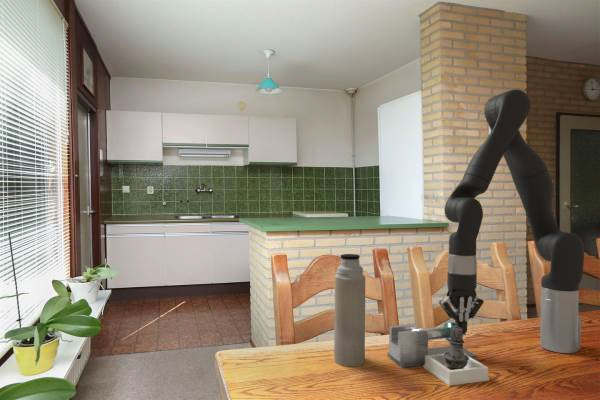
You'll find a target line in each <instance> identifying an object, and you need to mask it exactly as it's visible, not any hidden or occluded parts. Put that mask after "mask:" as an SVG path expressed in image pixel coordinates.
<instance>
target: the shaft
mask: <svg viewBox="0 0 600 400" xmlns="http://www.w3.org/2000/svg"><path fill="white" fill-rule="evenodd" d="M455 325H456V324H455V322H453V321H451V322H445V323H444V324H443V326H438V327H437V326H436V327H427V328H419V329H414V330H423V329H426V330H428V341H433V340H442V339H445V341H447V342H449V339H450V329H451V327H453V326H455ZM410 331H413V330H410Z"/></svg>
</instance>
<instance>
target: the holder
mask: <svg viewBox="0 0 600 400" xmlns="http://www.w3.org/2000/svg"><path fill="white" fill-rule="evenodd" d="M465 355H466V354H465ZM468 357H469V356H468ZM448 366H449V365H448V364H447V363H446V361H445V357H444V354H436V355H427V356H425V365H423V368H424V369H425V370H427V372H429V373H431V375H434V377H436V378H438V379H439V380H440V381H442V382H443V383H445V385H447V386H449V387H451V386H458V385H463V384H471V383H472V384H473V383H480V382H481V383H482V382H486V381H487V382H488V381H491V380H490V379H491V378H490V377H489V367H488V366H486V365H484V364H483V363H481V362H479V361H478V360H477V359H473V358H471V357H469V360H468V363H467V365H466V366H465V367H464V369H456V370H450V369H448V368H447V367H448Z"/></svg>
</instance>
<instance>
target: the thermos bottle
mask: <svg viewBox="0 0 600 400" xmlns="http://www.w3.org/2000/svg"><path fill="white" fill-rule="evenodd" d="M360 256H361V255H360V254H356V253H355V254H354V253H343V254H341V255H340V265H339V266H338V267H337V270H336V272H337V273H336V274H335V275H334V335H333V336H334V340H333V341H334V342H333V343H334V344H333V345H334V346H333V347H334V348H333V351H334V353H333V355H334V359H333V361H334V362H335V363H336V364H337V365H341V366H345V367H359V366H362V365H364V363H365V362H366V360H365V359H366V358H365V357H366V345H365V344H366V276H365V275H364V270H363V267H362V266H361V265H360Z"/></svg>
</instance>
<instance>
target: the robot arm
mask: <svg viewBox="0 0 600 400" xmlns="http://www.w3.org/2000/svg"><path fill="white" fill-rule="evenodd" d="M531 106H532V105H531V99H530V97H529V95H528V94H527V92H525V91H523V90H521V89H511V90H507V91H505V92H502V93H499V94H497V95H494V96H493V97H490V98H489V99H488V100H487V101H486V103H485V105H484V110H483V111H484V116H485V120H486V122H487V124H488V126H489V129H490V130H491V131H490V132H489V134H488V136H487V137H486V139H485V140H484V141H483V143H482V144H481V145H480V146H479V148H478V149H477V150H476V152H475V153H474V154H473V156H472V158H471V159H470V161H469V163H468V165H467V168H466V170H465V171H464V174H463V176H462V179H461V180H460V182H459V183H458V185H456V186H455V188H454V189H453V191H451V193H450V195H449V196H448V198H447V200H446V202H445V204H444V205H445V206H444V214H445V217H446V219H447V220H448V221H450V222H452V223H458V227H457V229H456V231H455V232H452V233H450V235H449V238H448V258H447V279H446V280H447V282H446V284H447V285H446V286H447V293H446V297H445V298H444V299H443V300H442V299H440V300H439V302H438V304H439V305H440V307H441V308H442V309H443V311H444V312H445V314H446V316H448V317H449V319H453V321H455V322H454V323H455V324H456V322H457V323H458V326H459V327H461V328H462V329H463V336H465V335H466V334H467V333H468V332H467V331H468V321H469V320H470V319H474V318H475V317H476V315H477V314H478V312H479V310H480V308H481V307H482V306H483V304H484V303H485V301H484V300H483V299H482V298H479V297H478V296H477V295H478V294H477V291H476V289H477V286H478V285H477V283H478V282H477V281H478V280H477V279H478V261H477V260H478V259H477V240H478V236H479V233H480V230H481V225H482V221H483V218H484V211H483V207H482V204H481V203H480V201H479V200H478V199H477V198H476V197H477V196H480V195H483V194H484V193H486V192H487V190H488V189H489V187H490V184H491V182H492V179H493V178H494V175H495V173H496V170H497V168H498V165H499V163H500V162H501V160H502V158H504V160H505V162H506V165H507V167H508V170H509V172H510V176H511V178H512V182H513V184H514V186H515V190H516V191H517V194H518V197H519V198H520V201H521V204H522V206H523V209H524V211H525V213H526V217H527V219H528V222H529V225H530V230H531V233H532V236H533V242H534V244H535V248H536V250H537V251H536V252H537V253H538V254H539V256H540V257H541V258H542V259H544V260H545V261H547V262H550V271H549V273H548V274H545V275H543V276H541V284H540V287H541V288H540V289H541V290H540V293H541V294H540V332H539V333H540V335H539V337H540V338H539V339H540V341H539V342H540V343H539V344H540V346H541V347H542V348H543V349H545V350H547V351H551V352H555V353H560V354H575V353H577V352H578V351H580V350H581V338H582V337H581V335H582V334H581V332H582V331H581V329H582V326H581V325H582V317H581V315H579V302H580V301H579V295H580V293H579V290H580V283H581V282H582V280H583V275H584V266H585V265H584V264H585V244H584V242H583V240H582V239H581V238H580V236H579V235H577V234H575V233H574V232H573V233H572V232H568V231H562V230H561V228H560V227H559V225H558V222H557V220H556V217H555V216H554V212H553V201H554V182H553V179H552V176H551V175H550V172H549V169H548V166H547V164H546V162H545V160H544V159H543V158H542V157H541V156H540V155H539V154H538V153H537V152H536V151H535V150H534V149H533V148H532V147H531V146H530V145H529V144H528V143H527V142H526V140H525V139H524V137H523V136H522V134H521V132H520V128H521V127H522V125H523V124H524V122H525V121H526V120H527V117H529V114H530V111H531Z"/></svg>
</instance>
